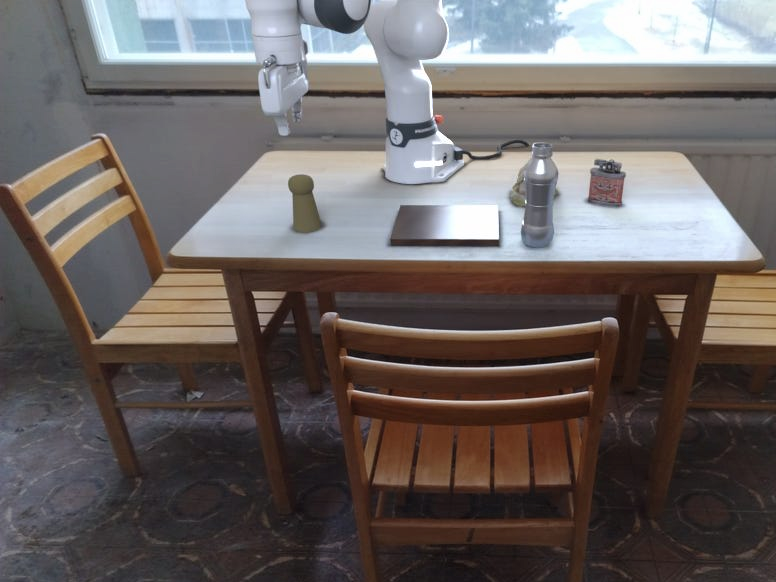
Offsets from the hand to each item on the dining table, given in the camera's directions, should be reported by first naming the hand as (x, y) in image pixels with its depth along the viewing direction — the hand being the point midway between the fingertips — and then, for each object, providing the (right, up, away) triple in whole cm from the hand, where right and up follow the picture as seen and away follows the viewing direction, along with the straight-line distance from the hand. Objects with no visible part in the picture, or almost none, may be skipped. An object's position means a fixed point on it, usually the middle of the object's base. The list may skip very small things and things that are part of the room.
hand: (291, 127), depth 128 cm
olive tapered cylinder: (0, -17, +12) cm, 21 cm away
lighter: (+66, -9, +23) cm, 70 cm away
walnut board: (+30, -17, +11) cm, 37 cm away
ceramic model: (+50, -7, +26) cm, 57 cm away
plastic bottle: (+49, -22, +5) cm, 54 cm away
